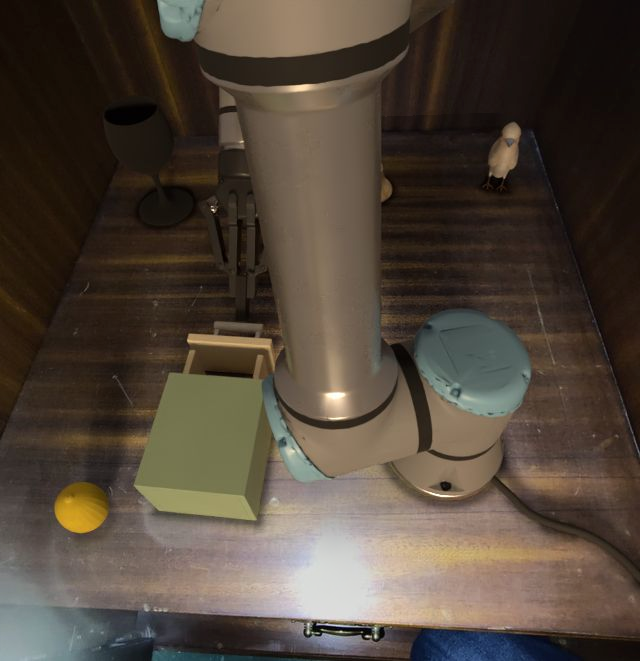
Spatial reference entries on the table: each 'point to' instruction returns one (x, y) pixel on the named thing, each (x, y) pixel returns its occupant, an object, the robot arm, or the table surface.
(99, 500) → the lemon
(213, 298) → the table surface
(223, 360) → the drawer
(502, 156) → the bird
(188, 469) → the cabinet
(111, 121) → the wine glass
